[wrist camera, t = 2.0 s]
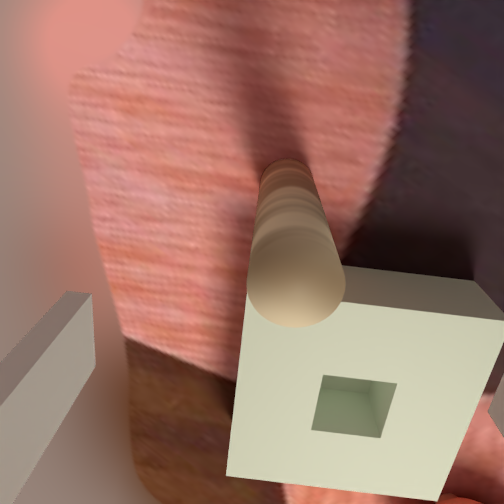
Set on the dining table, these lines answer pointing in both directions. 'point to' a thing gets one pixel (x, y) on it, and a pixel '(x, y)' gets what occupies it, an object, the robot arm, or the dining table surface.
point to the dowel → (293, 250)
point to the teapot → (454, 500)
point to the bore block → (366, 386)
